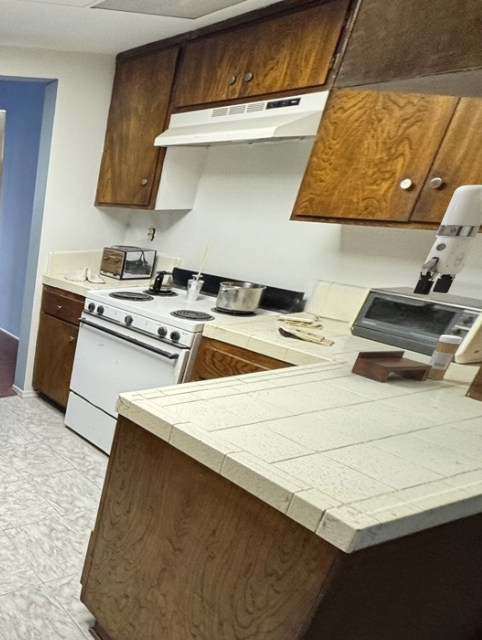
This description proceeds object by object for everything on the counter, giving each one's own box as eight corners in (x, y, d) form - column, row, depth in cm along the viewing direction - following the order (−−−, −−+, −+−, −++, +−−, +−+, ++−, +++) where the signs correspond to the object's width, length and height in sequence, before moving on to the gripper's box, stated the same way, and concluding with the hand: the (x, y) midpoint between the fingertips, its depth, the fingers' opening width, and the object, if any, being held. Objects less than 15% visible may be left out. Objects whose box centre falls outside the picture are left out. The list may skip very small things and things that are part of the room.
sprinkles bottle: (445, 378, 146) (466, 337, 141) (439, 380, 144) (460, 338, 139) (425, 374, 150) (444, 333, 145) (419, 376, 148) (438, 335, 143)
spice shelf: (425, 380, 144) (435, 359, 141) (380, 382, 142) (390, 360, 139) (393, 371, 152) (402, 350, 150) (350, 372, 150) (359, 351, 147)
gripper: (458, 233, 126) (430, 297, 132) (492, 233, 131) (464, 294, 138) (421, 232, 132) (396, 292, 139) (455, 231, 138) (430, 289, 144)
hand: (430, 293), depth 138 cm, fingers open, 9 cm apart
